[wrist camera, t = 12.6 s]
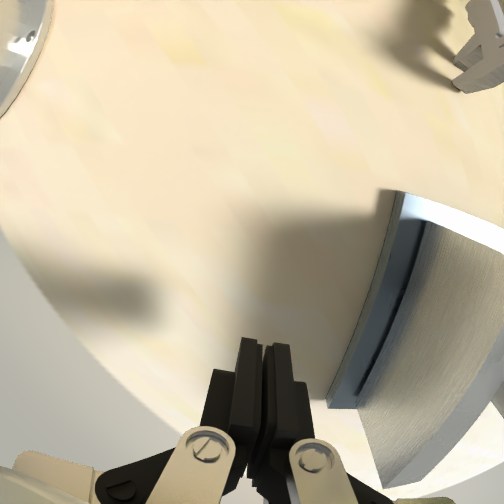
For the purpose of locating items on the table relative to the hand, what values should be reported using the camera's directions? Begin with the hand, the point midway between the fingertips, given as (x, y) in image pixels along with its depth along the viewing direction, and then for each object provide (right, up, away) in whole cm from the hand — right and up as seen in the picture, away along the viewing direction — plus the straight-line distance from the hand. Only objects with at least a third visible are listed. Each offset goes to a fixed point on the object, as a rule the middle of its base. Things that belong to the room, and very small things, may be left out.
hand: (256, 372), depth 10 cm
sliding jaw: (+9, 0, +5) cm, 10 cm away
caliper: (+15, +23, -1) cm, 27 cm away
